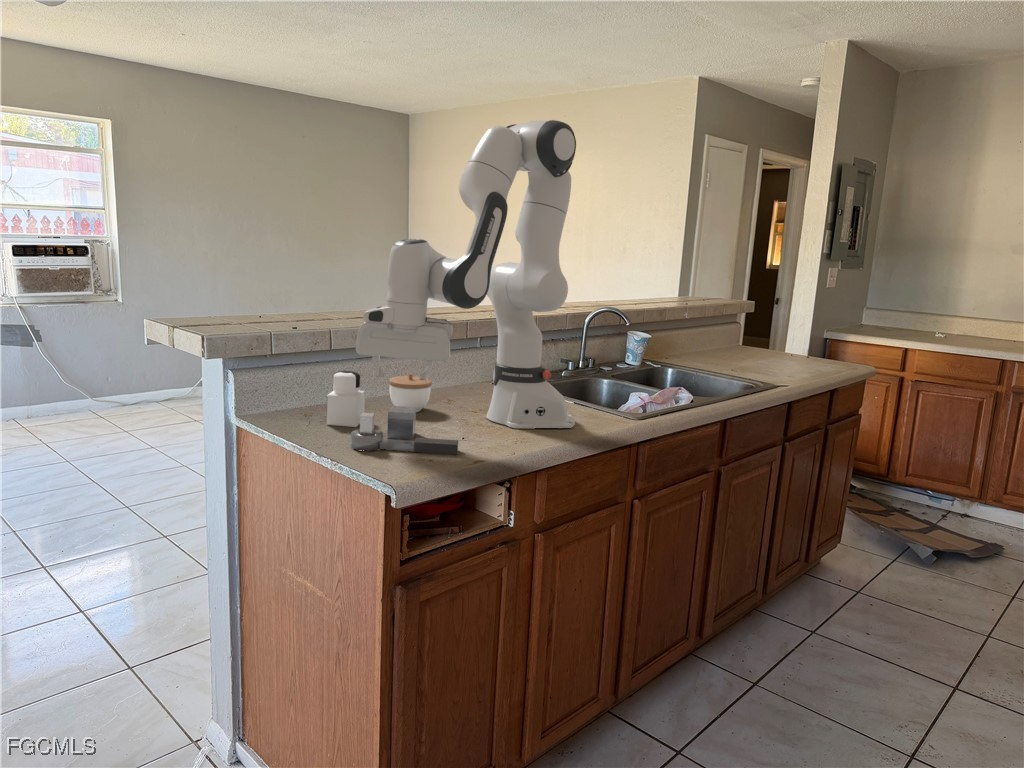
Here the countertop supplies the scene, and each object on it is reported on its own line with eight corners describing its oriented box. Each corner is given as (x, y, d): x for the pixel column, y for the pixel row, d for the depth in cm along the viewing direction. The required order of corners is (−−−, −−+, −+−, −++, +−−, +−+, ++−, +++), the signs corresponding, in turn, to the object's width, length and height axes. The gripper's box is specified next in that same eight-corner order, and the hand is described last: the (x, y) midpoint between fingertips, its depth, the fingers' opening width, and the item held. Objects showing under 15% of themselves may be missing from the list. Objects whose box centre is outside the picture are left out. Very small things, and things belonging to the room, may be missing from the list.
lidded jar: (382, 412, 172) (384, 375, 170) (394, 403, 183) (396, 368, 181) (424, 416, 171) (426, 379, 169) (434, 407, 182) (436, 372, 180)
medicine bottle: (334, 417, 164) (335, 368, 162) (364, 419, 164) (366, 370, 162) (325, 425, 157) (326, 373, 155) (356, 427, 157) (358, 376, 155)
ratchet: (458, 448, 147) (460, 416, 146) (456, 457, 141) (458, 424, 140) (353, 441, 146) (354, 409, 145) (347, 450, 140) (348, 417, 139)
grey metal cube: (415, 432, 156) (416, 407, 155) (412, 439, 151) (413, 413, 150) (390, 431, 156) (391, 405, 155) (387, 438, 151) (388, 411, 149)
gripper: (454, 318, 151) (450, 379, 154) (361, 309, 150) (358, 371, 153) (453, 321, 145) (448, 385, 148) (355, 312, 144) (352, 377, 147)
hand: (401, 378), depth 150 cm, fingers open, 8 cm apart
